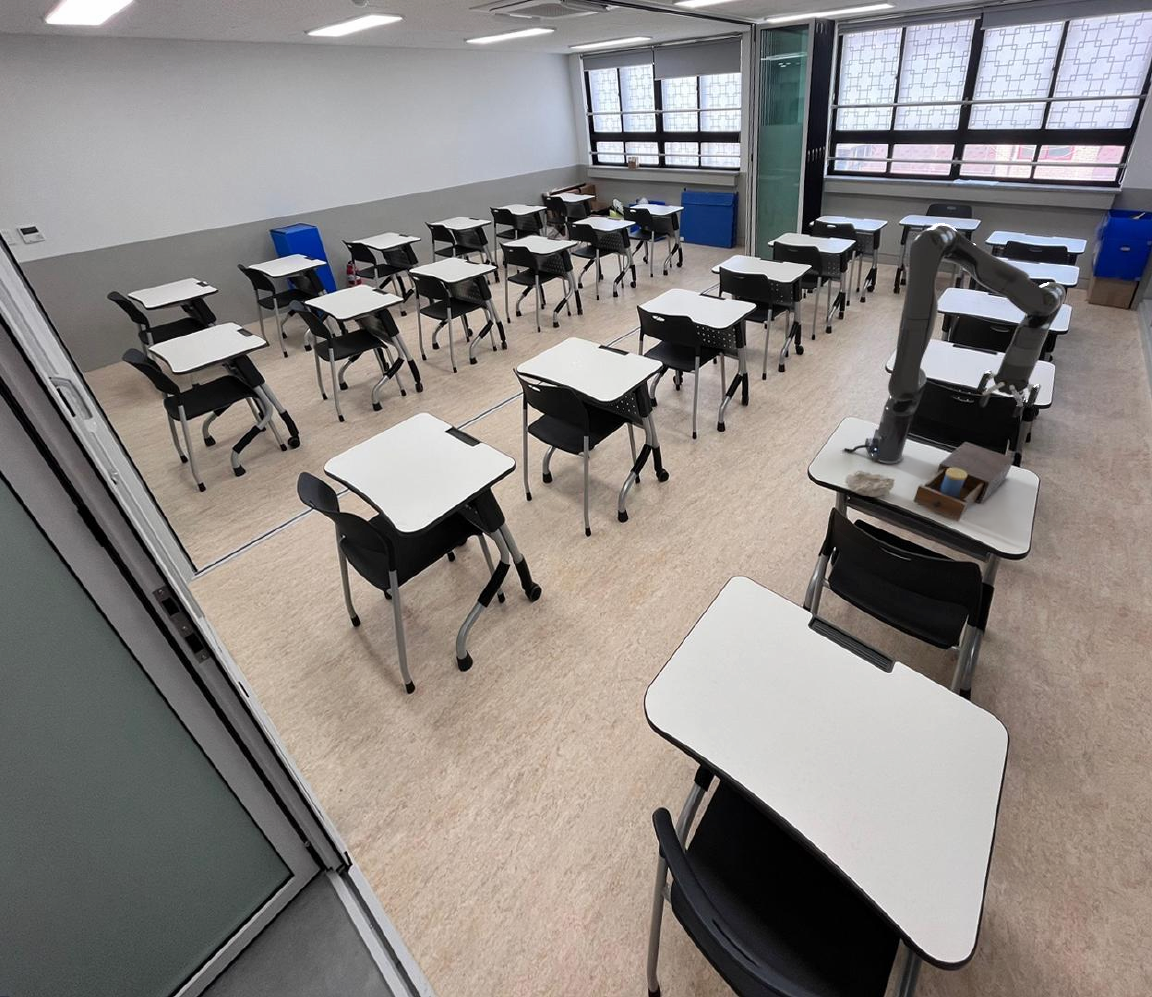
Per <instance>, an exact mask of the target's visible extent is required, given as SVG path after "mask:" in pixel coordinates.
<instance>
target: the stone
mask: <svg viewBox="0 0 1152 997" xmlns="http://www.w3.org/2000/svg"><path fill="white" fill-rule="evenodd" d="M895 480H896V479H895V478H892V477H889V476H883V475H881V474H880V473H877V474H873V473H871V472H868V471H863V470H860V469H857V470H854V471H853V473H852V474H849V475H847V476H846V477H845V479H844V483H845V484H846V485H847V487H848V488H849V490H850V491H851V492H852V493H855V494H857V495H859V496H864V497H870V498H872V497H873V498H875V497H883V496H887V495H888V494H889V493H890V491H891V490H892V489H893V488H894V485H895Z"/></svg>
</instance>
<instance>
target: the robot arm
mask: <svg viewBox="0 0 1152 997" xmlns="http://www.w3.org/2000/svg"><path fill="white" fill-rule="evenodd" d="M909 247H910V248H909V257H908V273H907V274H908V276H907V284H906V289H905V294H904V299H903V306H902V310H901V316H900V320H899V328H898V334H897V343H896V350H895V351H896V352H895V358H894V359H895V360H894V363H893V366H892V371H891V374H890V377H889V380H888V384H887V391H888V394H889V395H888V397H887V400H886V402H885V404H884V407H883V410H882V414H881V417H880V420H879V424H878V428H877V429H875V430H874V434H873V437H870V438H869V437H867V438H865V441H864V444H860V445H855V447H853V448H846V447H845V448H844V450H843V451H844V452H847V453H854V452H856V451H857V450H859V449H864V448H865V450H866V452H867V453H868V454H870V457H871V458H872V459H873V462H878V463H881V464H887V465H893V464H897V463H899V462H901V460H902V456H903V452H904V448H905V445H906V442H907V439H908V435H909V433H910V429H911V426H912V423H913V420H914V416H915V413H916V411H917V409H918V408H919V405H920V403H921V399H922V396H923V393H924V390H925V387H926V384H927V374H926V372H925V371H924V370H923V368H921V366H922V361H923V358H924V355H925V353H926V350H927V348H928V346H929V344H930V341H931V339H932V337H933V333H934V330H935V326H936V322H937V316H938V311H939V301H938V295H937V289H936V282H937V277H938V273H939V268H940V265H941V262H942V260H945V261H947V262H950V263H952V264H955V265H957V266H959V267H960V268H962V269H963V270H965V271H966V272H967V273H968V274H969V275H970V276H971V277H972V278H973V279H974V280H975V281H976V282H977V283H978V284H980V285H981V286H983V287H984V288H986V289H987V290H989V291H991V292H993V293H995V294H997V295H1000V296H1001V297H1003V298H1005V299H1007V300H1008V301H1009V302H1010V304H1012V305H1013V306H1014V307H1016V309H1018V310H1020V311H1021V312H1022V313H1024V316H1023V318H1022V320H1021V321H1020V322H1019V324H1018V325H1017V327H1016V329H1015V331H1014V333H1013V335H1012V338H1011V341H1010V343H1009V345H1008V347H1007V348H1006V351H1005V353H1004V356H1003V358H1002V361H1001V363H1000V366H999V369H998V371H997V373H994V372H993V371H992V370H987V371H986V372H984V373H983V374H982V377H981V379H980V381H979V383H978V386H977V388H976V392H978V393H981V397H980V399H979V402H978V403H979V405H980V407H981V408H985V407H986V405H987V404H988V401H989V399H990V396H991V393H993V392H995V391H996V390H997V391H998V392H999V393H1002V394H1006V395H1008V396H1013V398H1014V400H1015V401H1016V403H1017V405H1016V406H1015V408H1014V411H1013V412H1012V416H1011V417H1012V418H1014V419H1015V418H1016V417H1019V416H1020V415H1021V414H1022V413H1023V410H1024V409H1025V407H1026V408H1030V407H1031V406H1033V405H1034V404H1036V400H1037V398H1038V396H1039V392H1040V390H1041V387H1042V385H1041V384H1039V383H1038V384H1032V383H1030V378H1031V376H1032V374H1033V372H1034V369H1035V368H1036V364H1037V363H1038V361H1039V357H1040V355H1041V351H1042V348H1043V345H1044V343H1045V341H1046V338H1047V337H1048V334H1049V331H1050V328H1051V326H1052V324H1053V323H1054V322H1055V319H1056V317H1057V316H1058V314H1059V312H1060V310H1061V308H1062V306H1063V304H1064V303H1065V300H1066V295H1067V293H1066V289H1065V287H1064V286H1063V285H1062V284H1061V283H1059V282H1047V283H1043V284H1041V285H1039V284H1037V283H1036V282H1034V281H1032V280H1031V279H1030V274H1029V273H1028V272H1026V271H1024V270H1023V269H1020V268H1019V267H1017V266H1015V265H1012V264H1011V263H1008V262H1006V261H1004V260H1002V259H1000V258H998V257H996V256H995V255H992V254H991V253H989V252H987V251H985V250H984V249H982V248H981V247H980V246H978V245H976V244H975V243H973V242H972V241H970V240H969V239H968V238H966V237H965V236H964V235H962V233H960V232H959V231H957V230H956V229H955V228H953V227H951V225H949V224H945V223H938V224H937V223H936V224H933V225H932V226H929V227H927V228H926V229H924V230H922V231H921V232H918V234H917V235H916V236H914V238H913V240H912V242H911V245H910V246H909ZM992 379H993V381H994V385H992V386H991V387H989V388H987V385H988V382H989V381H990V380H992ZM1025 389H1028V390H1027V391H1028V393H1029V395H1028V397H1027V398H1026V393H1025Z"/></svg>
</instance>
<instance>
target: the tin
mask: <svg viewBox="0 0 1152 997" xmlns="http://www.w3.org/2000/svg"><path fill="white" fill-rule="evenodd" d="M966 478H967V473H966V472H965V471H964V470H962V469H959V468H949V469H947V470H946V475H945V477H944V480H943V482H942V485H941V488H940V490H939V492H941V493H943V494H945V495H948V496H950V497H953V498H955V499H957V498H958V496H959V493H960V491H961V488H962V486H963V484H964V481H965V479H966Z"/></svg>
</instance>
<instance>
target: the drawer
mask: <svg viewBox="0 0 1152 997" xmlns="http://www.w3.org/2000/svg"><path fill="white" fill-rule="evenodd" d="M946 470H947V468H943V469H941V470H940V471H939V472H938V473H937V472H936V473H937V474H936V473H935V474H934V475H933V476H932V477H931V478H929V480H927V481H926V482H925V483H924V484H919V485H918V486H917V490H916V492H915V496H914V497H913V498H914V499H913V503H915V504H917V505H919V506H922V507H924V508H927V509H929V510H931V511H934V512H936V513H938V514H940V515H943V516H944V517H946V518H947V517H948V518H950V519H952V520H954V521H956V522H959V521H960V520H961V518H962V517H963V514H964V512H966V510H967V509H969V507H971V506H972V504H974V503H975V502H976V501H975V500H976V499H977V498H978V497H980V496H981V494H982V491H983V489H984V487H985V485H986V483H984V482H981V481H978V480H976V479H973V478H971V477H968V476H967V478H966V479H965V481H964V484H963V486H962V488H961V491H960V493H959V496H958V498H957V499H955V498H953V497H950V496H948V495H945V494H943V493H941V492H939V490H940V488H941V485H942V482H943V480H944V477H945V475H946Z"/></svg>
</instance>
